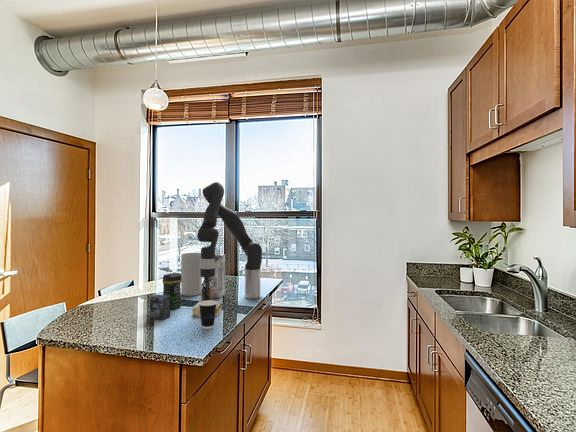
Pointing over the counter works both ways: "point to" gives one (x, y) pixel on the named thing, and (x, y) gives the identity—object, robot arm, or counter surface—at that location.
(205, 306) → the dixie cup
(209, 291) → the walnut block
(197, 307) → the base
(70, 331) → the counter surface
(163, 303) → the box
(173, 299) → the coffee jar
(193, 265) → the cylinder vase
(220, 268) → the juice carton
